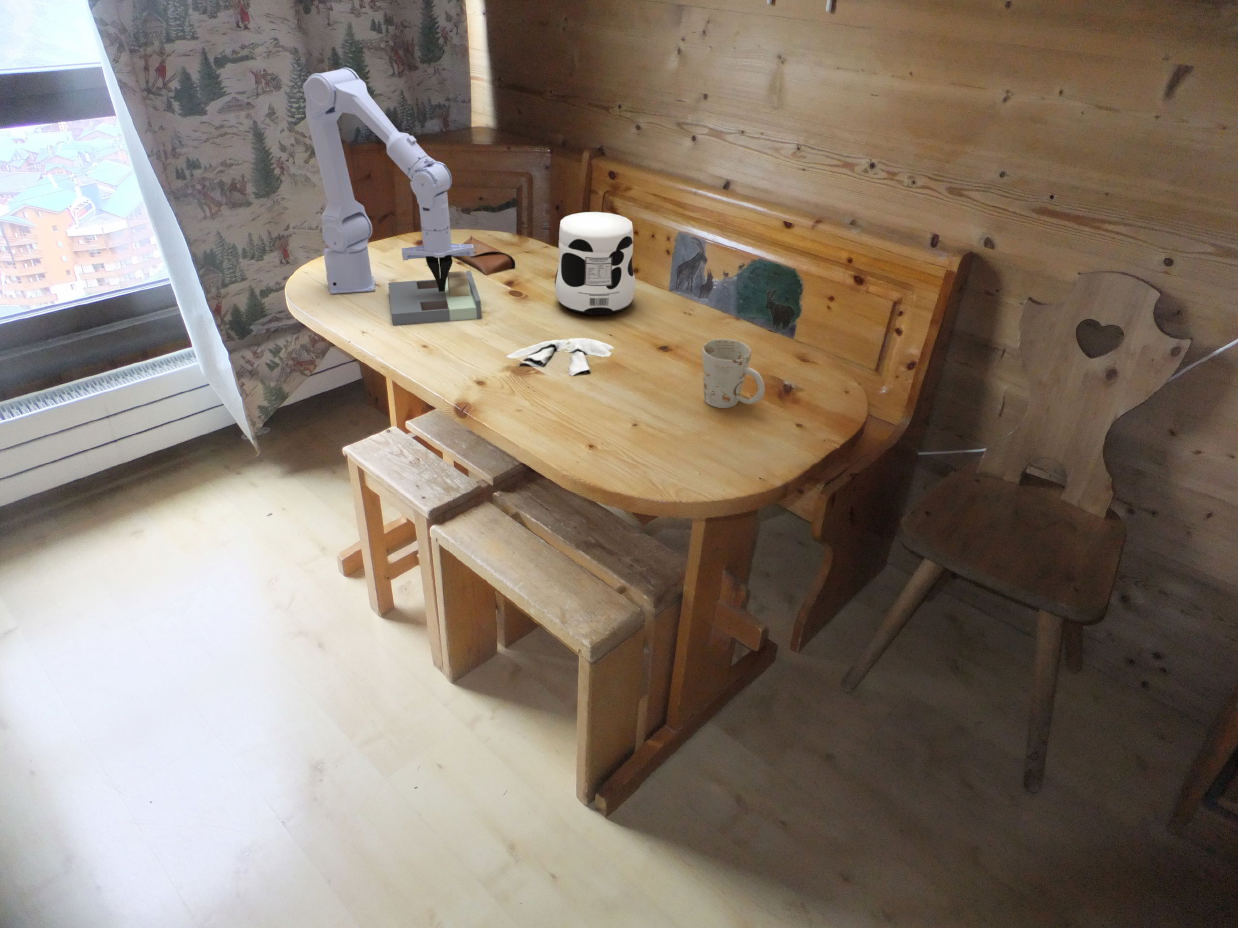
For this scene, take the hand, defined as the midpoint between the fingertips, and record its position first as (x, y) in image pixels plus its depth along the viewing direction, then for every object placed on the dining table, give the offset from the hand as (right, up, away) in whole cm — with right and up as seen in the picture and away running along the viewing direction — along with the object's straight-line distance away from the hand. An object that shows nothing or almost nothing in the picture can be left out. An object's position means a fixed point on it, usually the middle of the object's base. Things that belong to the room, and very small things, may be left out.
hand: (441, 290), depth 171 cm
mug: (+58, -27, -29) cm, 70 cm away
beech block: (+3, 0, +1) cm, 4 cm away
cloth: (+26, -18, -17) cm, 36 cm away
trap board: (-3, -3, +1) cm, 4 cm away
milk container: (+32, -2, +5) cm, 33 cm away
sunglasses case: (+4, +12, +24) cm, 27 cm away
